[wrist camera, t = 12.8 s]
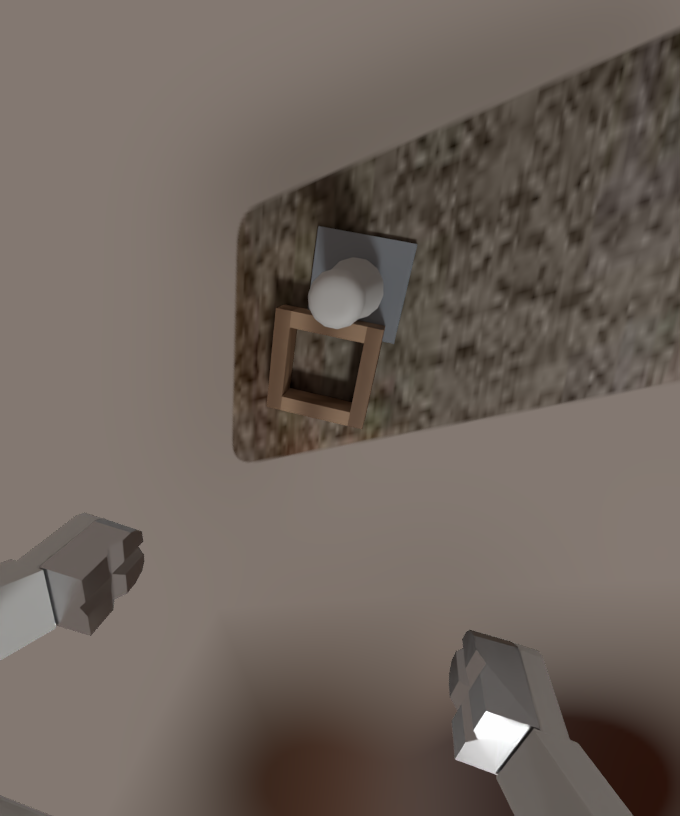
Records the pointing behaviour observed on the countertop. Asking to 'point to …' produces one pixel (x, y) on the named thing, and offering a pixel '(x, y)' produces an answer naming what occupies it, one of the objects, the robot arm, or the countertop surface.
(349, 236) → the slate mat
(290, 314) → the pocket frame
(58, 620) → the robot arm
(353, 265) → the salt shaker
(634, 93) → the countertop surface
